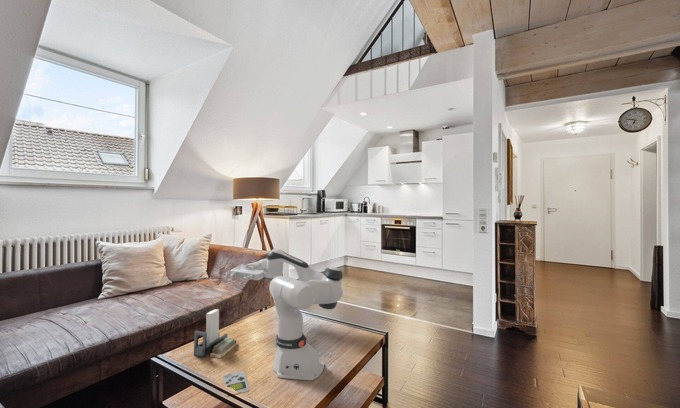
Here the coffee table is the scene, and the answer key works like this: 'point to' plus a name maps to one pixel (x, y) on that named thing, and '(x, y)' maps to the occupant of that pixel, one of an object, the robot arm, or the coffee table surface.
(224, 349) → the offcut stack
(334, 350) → the coffee table surface
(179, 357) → the coffee table surface
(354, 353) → the coffee table surface
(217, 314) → the white rectangular slab
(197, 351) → the slot rack
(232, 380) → the handheld gaming device
